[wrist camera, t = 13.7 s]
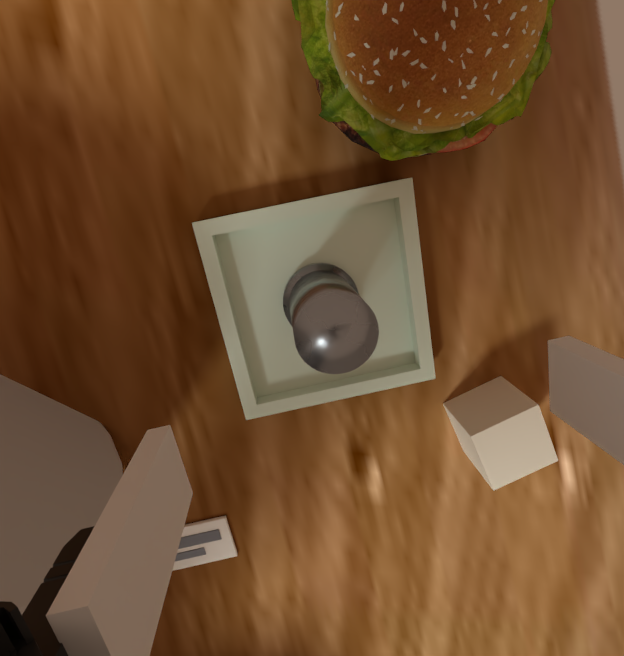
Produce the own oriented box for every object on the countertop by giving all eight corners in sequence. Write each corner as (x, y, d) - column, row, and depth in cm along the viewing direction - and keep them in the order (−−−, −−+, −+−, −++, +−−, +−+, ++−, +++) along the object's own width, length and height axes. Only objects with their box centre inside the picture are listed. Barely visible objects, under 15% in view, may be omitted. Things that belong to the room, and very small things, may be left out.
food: (514, -114, 24) (625, -260, 16) (507, 150, 28) (594, 131, 21) (274, -95, 23) (275, -237, 16) (304, 174, 28) (316, 164, 20)
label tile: (167, 569, 36) (166, 572, 35) (153, 531, 34) (152, 535, 34) (237, 553, 36) (237, 556, 35) (225, 515, 34) (225, 518, 34)
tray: (247, 408, 32) (246, 420, 30) (196, 221, 28) (191, 222, 26) (426, 369, 32) (435, 378, 31) (403, 178, 28) (412, 177, 26)
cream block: (463, 450, 35) (493, 490, 30) (442, 402, 33) (470, 436, 29) (518, 424, 35) (558, 460, 30) (500, 375, 33) (538, 404, 28)
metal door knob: (291, 342, 30) (297, 390, 22) (275, 270, 28) (276, 296, 21) (362, 327, 30) (392, 370, 23) (350, 255, 29) (379, 275, 21)
